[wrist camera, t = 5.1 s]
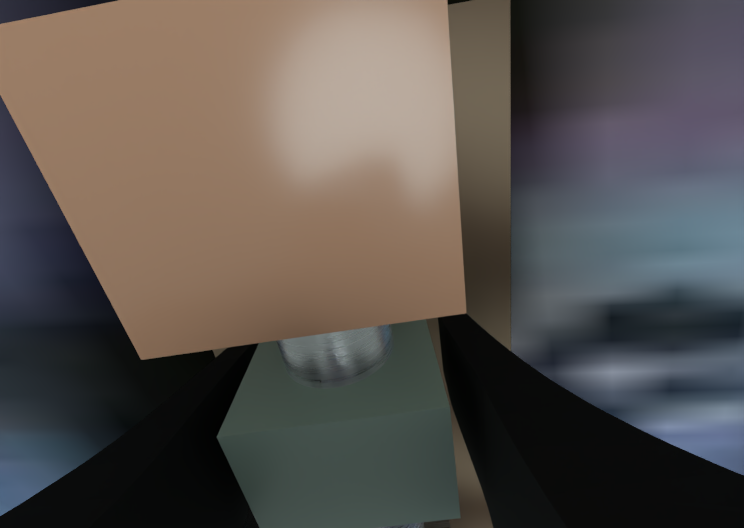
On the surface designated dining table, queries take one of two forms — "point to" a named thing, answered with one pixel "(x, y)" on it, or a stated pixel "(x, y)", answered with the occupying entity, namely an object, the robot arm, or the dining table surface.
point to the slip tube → (344, 431)
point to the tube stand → (279, 167)
